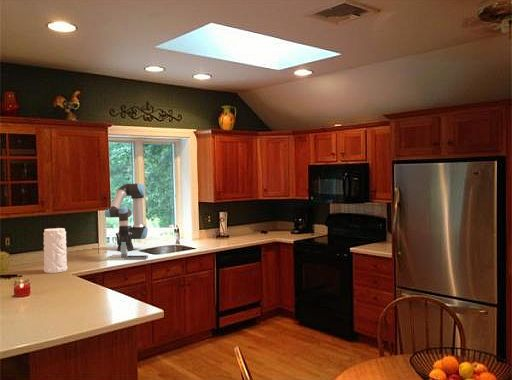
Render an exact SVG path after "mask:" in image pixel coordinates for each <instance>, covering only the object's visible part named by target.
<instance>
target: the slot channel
mask: <svg viewBox="0 0 512 380" xmlns="http://www.w3.org/2000/svg"><path fill="white" fill-rule="evenodd" d="M148 258H149V255H146V254H145V255H144V254H143V255H127V257H124V260H123V261H146V260H147V259H148Z"/></svg>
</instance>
